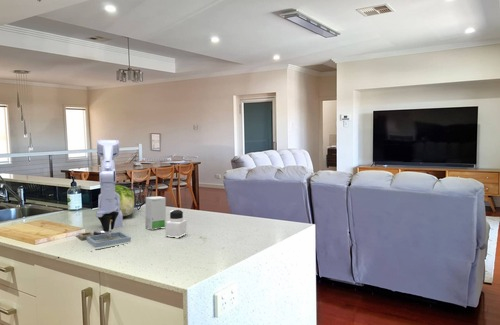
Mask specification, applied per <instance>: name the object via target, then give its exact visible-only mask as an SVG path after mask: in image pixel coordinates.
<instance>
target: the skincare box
mask: <svg viewBox="0 0 500 325" xmlns="http://www.w3.org/2000/svg"><path fill="white" fill-rule="evenodd" d="M166 201H167V199H166V197H164V196H160V195H159V196H146V197H145V221H144V222H145V225H144V226H145V227H146V228H145V229H147V228H149V229H155V228H161V227H165V228H166V219H167V218H166ZM149 229H148V230H149Z"/></svg>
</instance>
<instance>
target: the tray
mask: <svg viewBox="0 0 500 325" xmlns="http://www.w3.org/2000/svg"><path fill="white" fill-rule="evenodd" d="M115 237H120V238H115ZM111 238H115V239H109V240H106V238H105V234H101V235H95V236H88V237H87V240H86V242H88V243H89V244H90V245H91V246H93V247H95V249H94V251H99V250H100V251H101V250H105V249H110V248H111V247H112V248H116V247H115V246H117V247H120V246H119V245H120V244H121V245H123V246H125V245H124V244H126V243H131V242H132V240H131V238H132V237H131V236H130V235H127V234H126V233H124V232H122V231H115V232H111ZM104 239H105V240H104ZM97 240H98V241H97ZM99 240H103V241H99Z"/></svg>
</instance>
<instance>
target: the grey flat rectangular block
mask: <svg viewBox="0 0 500 325" xmlns="http://www.w3.org/2000/svg"><path fill="white" fill-rule="evenodd" d="M101 234H105V231H103V228H97V229H96V230H94V231H93V232H91V231H88V232H82V233H78V235H75V237H76V239H78V240H79V241H81V242H83V241H87V237H88V236H95V235H101Z"/></svg>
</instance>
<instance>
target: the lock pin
mask: <svg viewBox="0 0 500 325" xmlns="http://www.w3.org/2000/svg"><path fill="white" fill-rule="evenodd" d="M111 222H112V219H111V220H110V226H109V231H108V232H105V239H112V237H111V233H112V229H111Z"/></svg>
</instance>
